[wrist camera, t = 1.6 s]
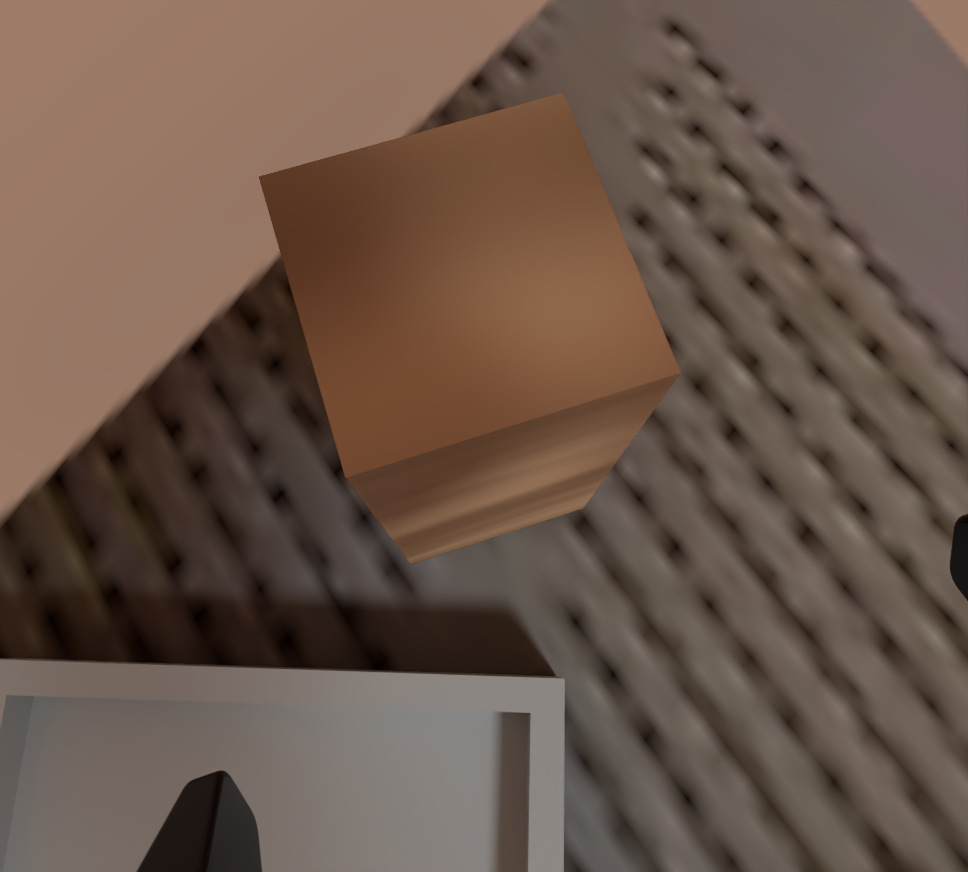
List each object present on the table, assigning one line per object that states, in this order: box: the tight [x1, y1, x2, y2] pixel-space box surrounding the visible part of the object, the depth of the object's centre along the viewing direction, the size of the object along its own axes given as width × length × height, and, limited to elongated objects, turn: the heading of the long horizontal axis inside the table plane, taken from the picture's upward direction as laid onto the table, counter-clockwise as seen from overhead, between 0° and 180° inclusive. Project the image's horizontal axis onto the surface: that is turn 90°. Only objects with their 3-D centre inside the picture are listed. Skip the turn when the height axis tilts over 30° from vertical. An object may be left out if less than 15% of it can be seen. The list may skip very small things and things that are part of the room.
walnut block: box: [259, 93, 681, 564], centre depth 17 cm, size 5×5×11 cm
